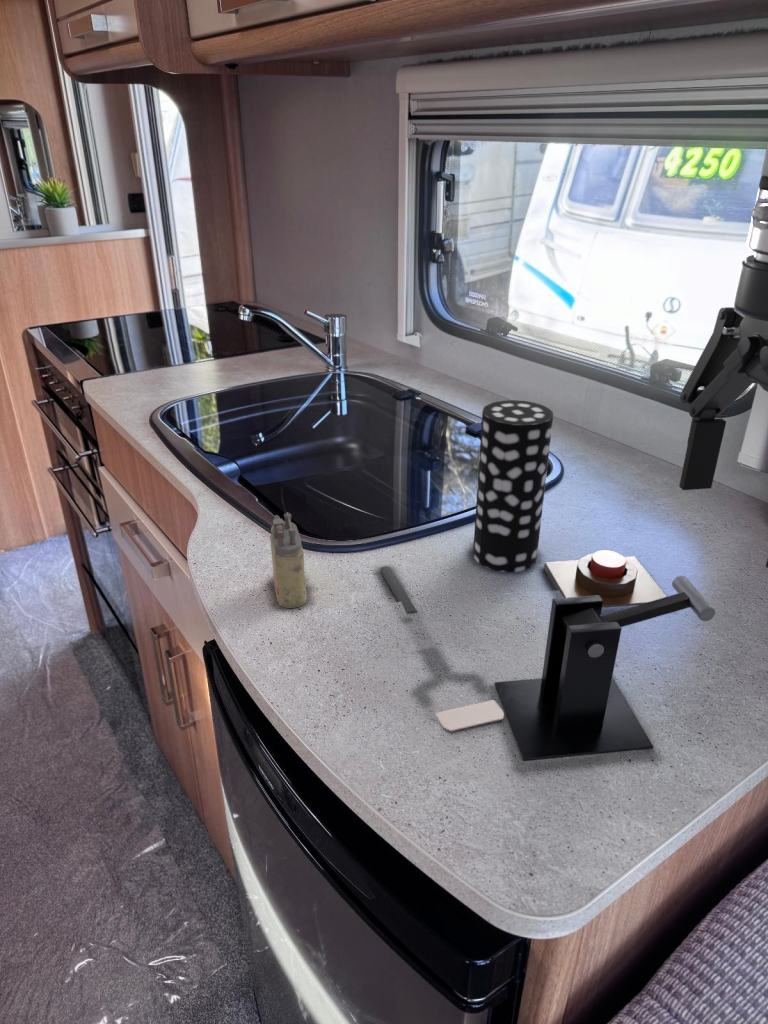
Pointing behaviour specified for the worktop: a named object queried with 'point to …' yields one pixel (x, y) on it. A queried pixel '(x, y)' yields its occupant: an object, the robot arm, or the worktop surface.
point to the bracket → (573, 693)
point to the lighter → (288, 563)
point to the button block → (604, 582)
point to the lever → (649, 608)
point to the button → (608, 564)
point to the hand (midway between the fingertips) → (735, 524)
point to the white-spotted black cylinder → (511, 484)
